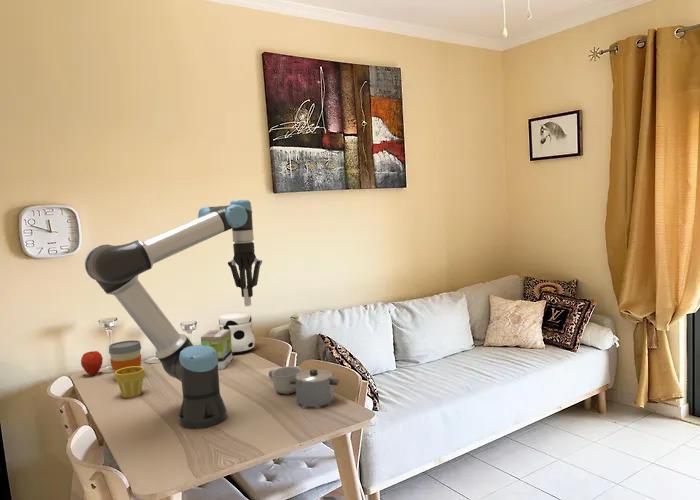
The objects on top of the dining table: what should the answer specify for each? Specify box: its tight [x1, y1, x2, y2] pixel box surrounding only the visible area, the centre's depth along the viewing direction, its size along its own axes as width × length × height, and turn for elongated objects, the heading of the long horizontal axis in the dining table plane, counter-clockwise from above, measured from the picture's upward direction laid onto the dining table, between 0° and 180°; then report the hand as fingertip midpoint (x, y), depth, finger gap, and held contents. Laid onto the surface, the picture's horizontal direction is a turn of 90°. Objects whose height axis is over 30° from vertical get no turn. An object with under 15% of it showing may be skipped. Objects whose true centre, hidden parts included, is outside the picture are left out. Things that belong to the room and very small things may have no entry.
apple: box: [80, 350, 103, 376], centre depth 235 cm, size 9×8×11 cm
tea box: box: [200, 329, 233, 370], centre depth 240 cm, size 15×10×15 cm, turn 179°
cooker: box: [290, 374, 340, 409], centre depth 186 cm, size 13×17×9 cm
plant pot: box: [114, 366, 146, 399], centre depth 205 cm, size 10×10×10 cm
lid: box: [296, 368, 333, 383], centre depth 185 cm, size 13×13×2 cm
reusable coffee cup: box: [108, 339, 142, 374], centre depth 227 cm, size 13×12×15 cm
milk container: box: [218, 311, 256, 355], centre depth 263 cm, size 17×17×18 cm
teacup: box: [268, 365, 302, 395], centre depth 200 cm, size 14×11×8 cm
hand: (248, 305), depth 200 cm, fingers closed
